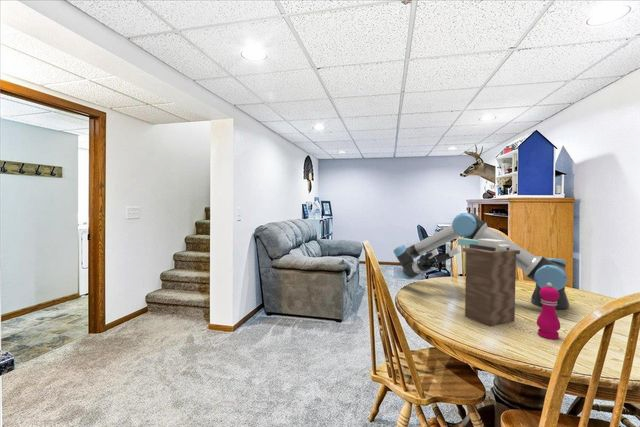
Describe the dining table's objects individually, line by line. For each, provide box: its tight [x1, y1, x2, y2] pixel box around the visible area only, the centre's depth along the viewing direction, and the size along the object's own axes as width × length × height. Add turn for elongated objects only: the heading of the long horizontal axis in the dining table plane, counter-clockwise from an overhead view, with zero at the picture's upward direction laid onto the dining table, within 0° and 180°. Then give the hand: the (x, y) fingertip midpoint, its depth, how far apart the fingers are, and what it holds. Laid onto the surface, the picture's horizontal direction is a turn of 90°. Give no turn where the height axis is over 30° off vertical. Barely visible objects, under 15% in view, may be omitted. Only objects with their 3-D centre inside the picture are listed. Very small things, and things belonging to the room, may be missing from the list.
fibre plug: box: [457, 237, 509, 251], centre depth 139 cm, size 6×23×4 cm, turn 23°
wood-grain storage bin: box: [462, 244, 520, 327], centre depth 135 cm, size 17×14×32 cm
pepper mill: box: [536, 283, 561, 340], centre depth 118 cm, size 7×7×20 cm
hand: (447, 250), depth 157 cm, fingers open, 13 cm apart
